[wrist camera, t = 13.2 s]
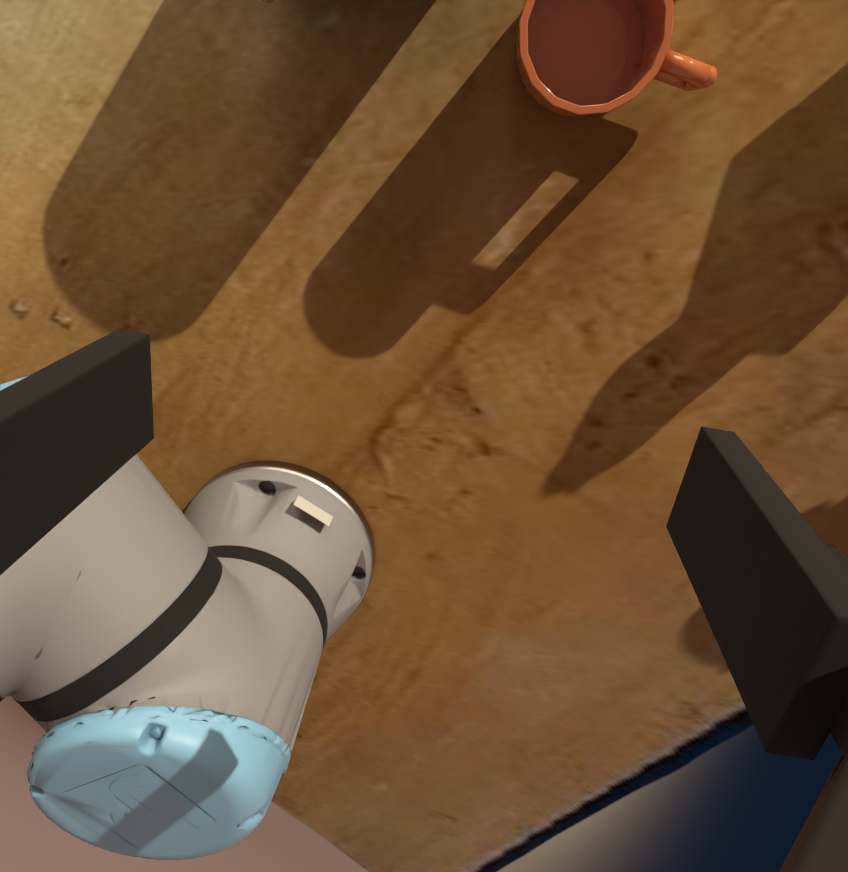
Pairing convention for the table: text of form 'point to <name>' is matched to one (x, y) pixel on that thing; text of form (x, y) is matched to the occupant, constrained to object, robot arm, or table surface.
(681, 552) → the robot arm
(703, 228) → the table surface
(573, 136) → the table surface
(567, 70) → the small cup
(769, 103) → the table surface
